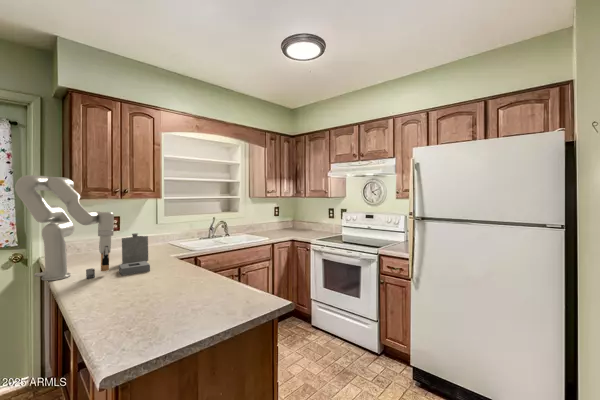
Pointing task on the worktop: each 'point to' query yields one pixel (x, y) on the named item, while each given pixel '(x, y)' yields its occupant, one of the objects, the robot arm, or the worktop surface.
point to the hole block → (134, 268)
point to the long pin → (104, 267)
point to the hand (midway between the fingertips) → (104, 263)
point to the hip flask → (134, 249)
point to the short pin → (90, 273)
